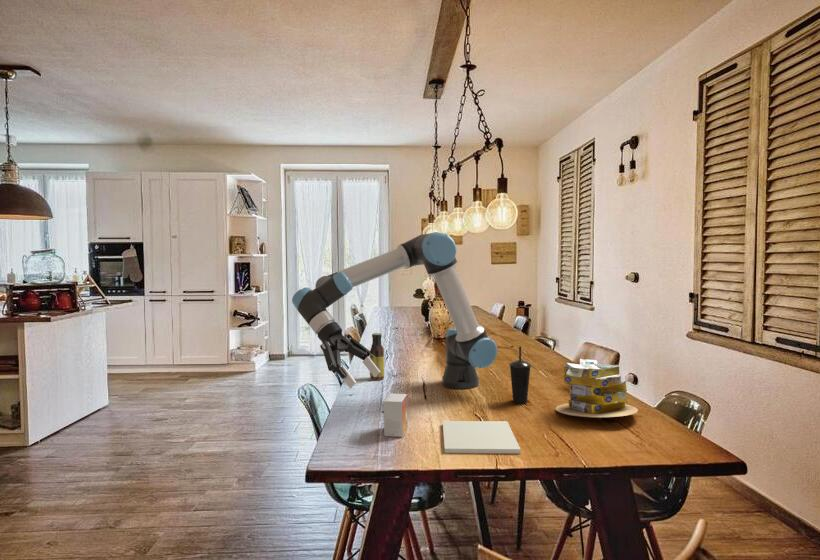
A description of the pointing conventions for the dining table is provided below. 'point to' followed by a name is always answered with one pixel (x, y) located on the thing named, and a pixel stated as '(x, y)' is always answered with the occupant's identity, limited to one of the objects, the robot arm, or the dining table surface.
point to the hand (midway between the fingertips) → (366, 379)
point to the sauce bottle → (377, 356)
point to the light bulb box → (587, 361)
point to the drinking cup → (520, 379)
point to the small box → (395, 415)
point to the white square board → (479, 437)
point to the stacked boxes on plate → (595, 391)
